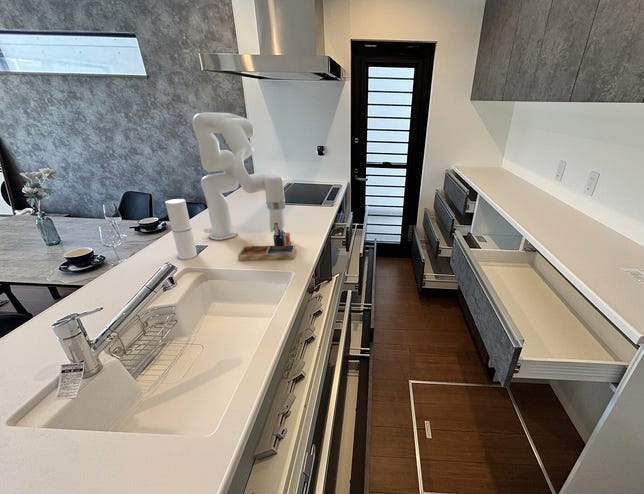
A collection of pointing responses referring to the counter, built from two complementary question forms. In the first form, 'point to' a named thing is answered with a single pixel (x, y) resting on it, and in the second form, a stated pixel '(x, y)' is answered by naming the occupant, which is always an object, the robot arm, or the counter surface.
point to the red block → (287, 238)
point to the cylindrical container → (181, 228)
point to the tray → (266, 252)
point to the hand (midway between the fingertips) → (280, 243)
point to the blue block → (282, 238)
